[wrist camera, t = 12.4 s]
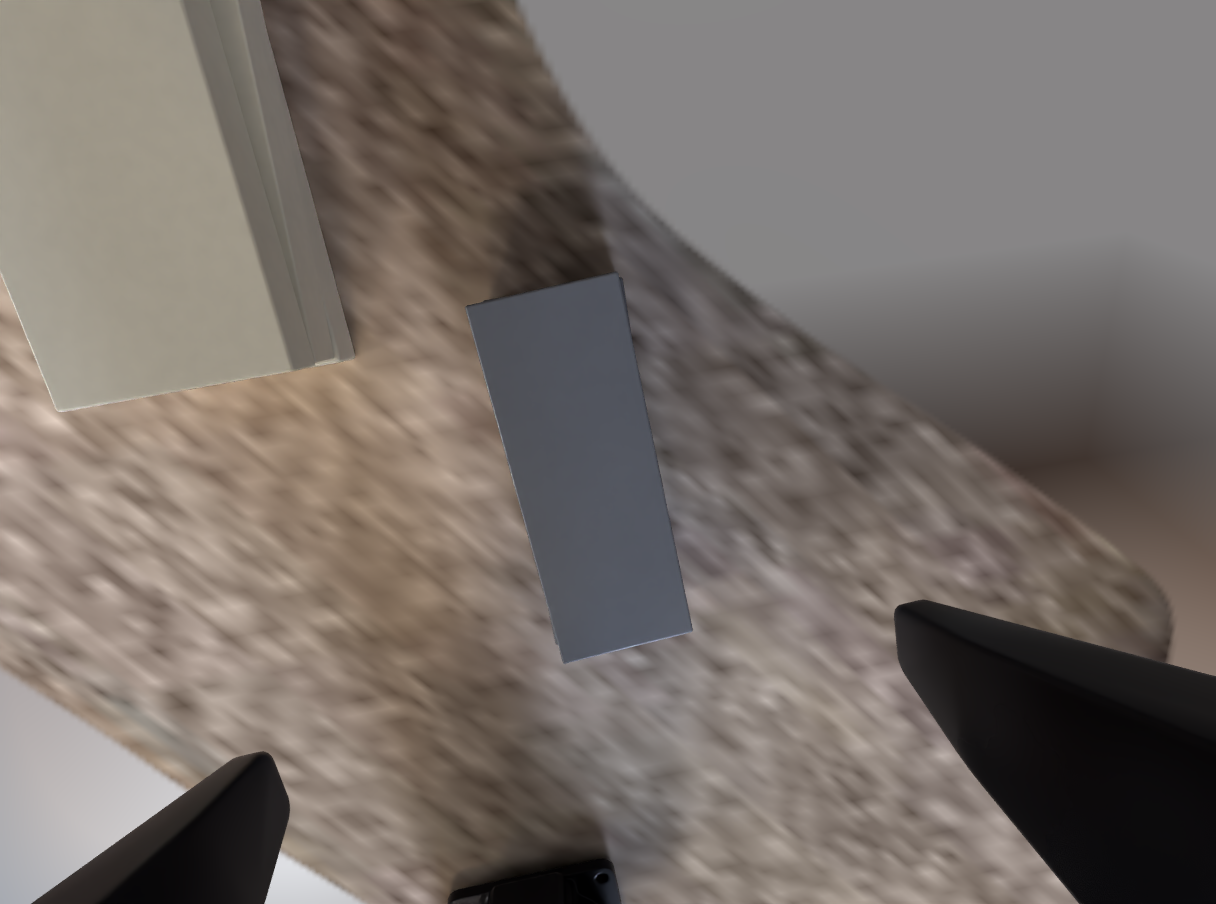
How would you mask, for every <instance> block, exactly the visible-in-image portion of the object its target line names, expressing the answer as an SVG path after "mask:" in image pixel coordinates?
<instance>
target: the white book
mask: <svg viewBox="0 0 1216 904" xmlns="http://www.w3.org/2000/svg"><path fill="white" fill-rule="evenodd" d="M0 273H1V276H2V278H3V280H4V283H5V285H6V288H7V290H8V293H9V295H10V298H11V300H12V303H13V305H14V307H15V310H16V312H17V315H18V317H19V320H20V322H21V325H22V327H23V330H24V332H25V335H26V337H27V339H28V342H29V344H30V347H31V349H32V352H33V354H34V357H35V359H36V362H37V364H38V366H39V369H40V371H41V374H42V376H43V379H44V381H45V384H46V386H47V389H48V391H49V393H50V396H51V398H52V401H53V403H54V406H55V408H56V410H57V411H58V412H66V411H71V410H77V409H83V408H88V407H94V406H100V405H105V404H111V403H117V402H122V401H128V400H133V399H139V398H145V397H150V396H156V395H162V394H167V393H173V392H179V391H184V390H190V389H196V388H201V387H207V386H213V385H218V384H224V383H230V382H235V381H241V380H247V379H252V378H258V377H264V376H269V375H275V374H281V373H286V372H292V371H296V370H301V369H305V368H309V367H313V366H315V361H314V358H313V354H312V351H311V347H310V344H309V341H308V337H307V334H306V330H305V327H304V323H303V320H302V317H301V313H300V310H299V306H298V303H297V299H296V296H295V293H294V289H293V286H292V282H291V279H290V275H289V272H288V268H287V265H286V262H285V258H284V255H283V251H282V248H281V244H280V241H279V238H278V234H277V231H276V227H275V224H274V220H273V217H272V214H271V210H270V207H269V203H268V200H267V196H266V193H265V190H264V186H263V183H262V179H261V176H260V172H259V169H258V165H257V162H256V159H255V155H254V152H253V148H252V145H251V141H250V138H249V135H248V131H247V128H246V124H245V121H244V117H243V114H242V111H241V107H240V104H239V100H238V97H237V93H236V90H235V87H234V83H233V80H232V76H231V73H230V69H229V66H228V62H227V59H226V56H225V52H224V49H223V45H222V42H221V38H220V35H219V32H218V28H217V25H216V21H215V18H214V14H213V11H212V8H211V4H210V1H209V0H0Z"/></svg>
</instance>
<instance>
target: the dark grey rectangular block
mask: <svg viewBox="0 0 1216 904" xmlns="http://www.w3.org/2000/svg"><path fill="white" fill-rule="evenodd" d="M465 309H466V313H467V316H468V320H469V324H470V327H471V331H472V334H473V338H474V342H475V345H476V349H477V353H478V356H479V360H480V364H481V367H482V371H483V374H484V378H485V382H486V385H487V389H488V393H489V396H490V400H491V403H492V407H493V411H494V414H495V418H496V422H497V425H498V429H499V432H500V436H501V440H502V443H503V447H504V451H505V454H506V458H507V461H508V465H509V469H510V472H511V476H512V480H513V483H514V487H515V491H516V494H517V498H518V501H519V505H520V509H521V512H522V516H523V520H524V523H525V527H526V530H527V534H528V538H529V541H530V545H531V549H532V552H533V556H534V559H535V563H536V567H537V570H538V574H539V578H540V581H541V585H542V588H543V592H544V596H545V599H546V603H547V607H548V611H549V615H550V620H551V625H552V629H553V634H554V639H555V643H556V644H557V645H558V647H559V650H560V654H561V657H562V661H563V663H564V664H565V663H569V662H573V661H577V660H581V659H585V658H589V657H593V656H597V655H601V654H605V653H610V652H614V651H618V650H622V649H626V648H630V647H634V646H638V645H642V644H646V643H650V642H654V641H658V640H662V639H666V638H670V637H674V636H678V635H682V634H686V633H690V632H692V631H693V628H692V624H691V619H690V614H689V609H688V604H687V600H686V595H685V590H684V585H683V581H682V576H681V571H680V566H679V561H678V557H677V552H676V547H675V542H674V538H673V533H672V528H671V523H670V518H669V514H668V509H667V504H666V499H665V494H664V490H663V485H662V480H661V475H660V471H659V466H658V461H657V456H656V451H655V447H654V442H653V437H652V432H651V428H650V423H649V418H648V413H647V408H646V404H645V399H644V394H643V389H642V384H641V380H640V375H639V370H638V365H637V361H636V356H635V351H634V346H633V341H632V336H631V330H630V323H629V317H628V311H627V304H626V298H625V291H624V285H623V279H622V278H621V277H619V274H618V272H612V273H607V274H603V275H599V276H594V277H590V278H586V279H581V280H577V281H572V282H568V283H564V284H559V285H555V286H551V287H546V288H542V289H537V290H533V291H529V292H524V293H520V294H516V295H511V296H507V297H502V298H496V299H490V300H485V301H483V302H481V303H476V304H472V305H467V306H466V307H465Z"/></svg>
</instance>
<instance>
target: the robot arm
mask: <svg viewBox="0 0 1216 904" xmlns="http://www.w3.org/2000/svg"><path fill="white" fill-rule="evenodd" d="M894 621H895V632H896V644H897V654H898V660H899V663H900V666H901V668H902V670H903V672H904V674H905V676H906V677H907V679H908V680H909V682H910V683H911V684H912V686H913V687H914V689H915V690H916V692H917V693H918V695H919V696H920V698H921V699H922V701H923V702H924V704H925V705H926V707H927V708H928V710H929V711H930V713H931V714H932V716H933V717H934V719H935V720H936V722H937V723H938V725H939V726H940V728H941V729H942V731H943V732H944V734H945V735H946V737H947V738H948V740H949V741H950V742H951V744H952V745H953V747H954V748H955V750H956V751H957V753H958V754H959V756H960V757H961V758H962V760H963V761H964V763H965V764H966V765H967V767H968V768H969V770H970V771H971V772H972V773H973V775H974V776H975V777H976V778H977V780H978V781H979V782H980V784H981V785H982V786H983V787H984V788H985V790H986V791H987V792H988V793H989V795H990V796H991V797H992V798H993V799H994V801H995V802H996V803H997V804H998V806H999V807H1000V808H1001V809H1002V810H1003V812H1004V813H1005V814H1006V815H1007V816H1008V818H1009V819H1010V820H1011V821H1012V823H1013V824H1014V825H1015V826H1016V827H1017V829H1018V830H1019V831H1020V832H1021V833H1022V835H1023V836H1024V837H1025V838H1026V840H1027V841H1028V842H1029V843H1030V844H1031V846H1032V847H1033V848H1034V849H1035V850H1036V852H1037V853H1038V854H1039V855H1040V857H1041V858H1042V859H1043V860H1044V861H1045V863H1046V864H1047V865H1048V866H1049V868H1050V869H1051V870H1052V871H1053V872H1054V874H1055V875H1056V876H1057V877H1058V878H1059V880H1060V881H1061V882H1062V883H1063V885H1064V886H1065V887H1066V888H1067V889H1068V891H1069V892H1070V893H1071V894H1072V895H1073V897H1074V898H1075V899H1076V900H1077V902H1078V903H1079V904H1216V676H1212V675H1208V674H1205V673H1201V672H1197V671H1193V670H1189V669H1186V668H1182V667H1178V666H1174V665H1171V664H1167V663H1163V662H1159V661H1155V660H1152V659H1148V658H1144V657H1140V656H1136V655H1133V654H1129V653H1125V652H1121V651H1117V650H1114V649H1110V648H1106V647H1102V646H1099V645H1095V644H1091V643H1087V642H1083V641H1080V640H1076V639H1072V638H1068V637H1064V636H1061V635H1057V634H1053V633H1049V632H1046V631H1042V630H1038V629H1034V628H1030V627H1027V626H1023V625H1019V624H1015V623H1011V622H1008V621H1004V620H1000V619H996V618H993V617H989V616H985V615H981V614H977V613H974V612H970V611H966V610H962V609H958V608H955V607H951V606H947V605H943V604H940V603H936V602H932V601H928V600H918V601H914V602H910V603H905V604H901V605H899V606H898V607H897V608H896V609H895V613H894ZM289 813H290V804H289V798H288V795H287V793H286V790H285V787H284V785H283V782H282V780H281V777H280V775H279V772H278V770H277V767H276V765H275V762H274V760H273V758H272V756H271V755H270V754H269V753H267V752H264V751H263V752H257V753H252V754H248V755H244V756H239V757H236V758H234V759H232V760H230V761H229V762H228V763H226V764H225V765H223V766H222V767H221V768H219V769H218V770H216V771H215V772H214V773H212V774H211V775H210V776H208V777H207V778H205V779H204V780H203V781H201V782H200V783H198V784H197V785H196V786H194V787H193V788H191V789H190V790H189V791H187V792H186V793H184V794H183V795H182V796H180V797H179V798H178V799H176V800H175V801H173V802H172V803H171V804H169V805H168V806H166V807H165V808H164V809H162V810H161V811H159V812H158V813H157V814H155V815H154V816H152V817H151V818H150V819H148V820H147V821H146V822H144V823H143V824H141V825H140V826H139V827H137V828H136V829H134V830H133V831H132V832H130V833H129V834H127V835H126V836H125V837H123V838H122V839H120V840H119V841H118V842H116V843H115V844H114V845H112V846H111V847H109V848H108V849H107V850H105V851H104V852H102V853H101V854H100V855H98V856H97V857H95V858H94V859H93V860H91V861H90V862H89V863H87V864H86V865H84V866H83V867H82V868H80V869H79V870H77V871H76V872H75V873H73V874H72V875H70V876H69V877H68V878H66V879H65V880H63V881H62V882H61V883H59V884H58V885H56V886H55V887H54V888H52V889H51V890H50V891H48V892H47V893H46V894H44V895H43V896H41V897H40V898H38V899H37V900H36V901H34V902H33V903H32V904H264V903H265V900H266V896H267V893H268V889H269V886H270V882H271V879H272V875H273V872H274V869H275V865H276V862H277V858H278V855H279V851H280V848H281V844H282V841H283V837H284V834H285V830H286V827H287V823H288V819H289ZM601 873H604V874H601ZM447 904H622V903H621V899H620V894H619V889H618V884H617V880H616V875H615V870H614V866H613V864H612V862H610V861H609V860H606V859H597V860H593V861H588V862H583V863H579V864H574V865H569V866H565V867H560V868H556V869H551V870H546V871H542V872H537V873H533V874H528V875H523V876H519V877H514V878H510V879H505V880H500V881H496V882H491V883H487V884H482V885H477V886H473V887H468V888H464V889H459V890H456V891H454V892H452V893H451V894H450V896H449V898H448V903H447Z"/></svg>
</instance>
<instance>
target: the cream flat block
mask: <svg viewBox="0 0 1216 904" xmlns="http://www.w3.org/2000/svg"><path fill="white" fill-rule="evenodd" d="M209 1H210V4H211V8H212V11H213V14H214V18H215V21H216V25H217V28H218V32H219V35H220V38H221V42H222V45H223V49H224V52H225V56H226V59H227V62H228V66H229V69H230V73H231V76H232V80H233V83H234V87H235V90H236V93H237V97H238V100H239V104H240V107H241V111H242V114H243V117H244V121H245V124H246V128H247V131H248V135H249V138H250V141H251V145H252V148H253V152H254V155H255V159H256V162H257V165H258V169H259V172H260V176H261V179H262V183H263V186H264V190H265V193H266V196H267V200H268V203H269V207H270V210H271V214H272V217H273V220H274V224H275V227H276V231H277V234H278V238H279V241H280V244H281V248H282V251H283V255H284V258H285V262H286V265H287V268H288V272H289V275H290V279H291V282H292V286H293V289H294V293H295V296H296V299H297V303H298V306H299V310H300V313H301V317H302V320H303V323H304V327H305V330H306V334H307V337H308V341H309V344H310V347H311V351H312V354H313V358H314V361H315V366H313V367H317V366H323V365H328V364H334V363H340V362H344V361H348V360H352V359H354V358H355V353H354V349H353V345H352V342H351V338H350V334H349V331H348V327H347V323H346V320H345V316H344V312H343V309H342V305H341V301H340V298H339V294H338V290H337V286H336V283H335V279H334V275H333V272H332V268H331V264H330V261H329V257H328V253H327V250H326V246H325V242H324V239H323V235H322V231H321V228H320V224H319V220H318V217H317V213H316V209H315V206H314V202H313V198H312V195H311V191H310V187H309V183H308V180H307V176H306V172H305V169H304V165H303V161H302V158H301V154H300V150H299V147H298V143H297V139H296V136H295V132H294V128H293V125H292V121H291V117H290V114H289V110H288V106H287V103H286V99H285V95H284V92H283V88H282V84H281V80H280V77H279V73H278V69H277V66H276V62H275V58H274V55H273V51H272V47H271V44H270V40H269V36H268V33H267V29H266V26H265V21H264V16H263V11H262V6H261V2H260V0H209ZM309 368H311V367H309ZM305 369H306V368H305Z"/></svg>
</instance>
